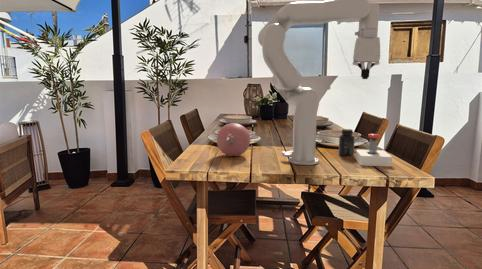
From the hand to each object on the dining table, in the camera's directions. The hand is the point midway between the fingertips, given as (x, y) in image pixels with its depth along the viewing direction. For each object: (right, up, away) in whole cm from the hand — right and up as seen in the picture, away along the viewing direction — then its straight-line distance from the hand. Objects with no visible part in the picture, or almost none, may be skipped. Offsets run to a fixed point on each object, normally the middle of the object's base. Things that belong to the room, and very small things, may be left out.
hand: (364, 78), depth 135 cm
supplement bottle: (-4, -34, +13) cm, 36 cm away
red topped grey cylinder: (+3, -36, 0) cm, 36 cm away
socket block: (+3, -36, 0) cm, 36 cm away
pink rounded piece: (-57, -34, +9) cm, 67 cm away
